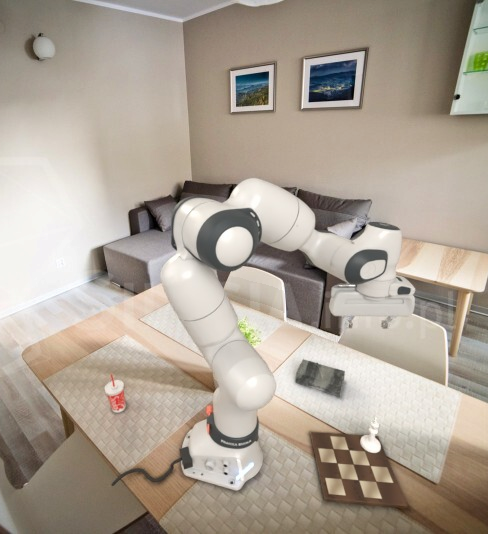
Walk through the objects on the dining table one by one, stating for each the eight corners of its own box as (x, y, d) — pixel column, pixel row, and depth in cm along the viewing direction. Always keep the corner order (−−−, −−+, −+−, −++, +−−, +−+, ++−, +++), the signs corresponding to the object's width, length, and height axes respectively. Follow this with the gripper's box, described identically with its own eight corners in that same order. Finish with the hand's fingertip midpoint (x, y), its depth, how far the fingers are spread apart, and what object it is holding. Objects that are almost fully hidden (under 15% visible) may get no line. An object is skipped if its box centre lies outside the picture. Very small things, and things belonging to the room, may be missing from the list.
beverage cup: (106, 412, 107) (97, 379, 101) (116, 398, 112) (108, 366, 106) (122, 416, 105) (114, 383, 99) (131, 401, 110) (124, 369, 104)
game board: (324, 501, 78) (325, 498, 77) (310, 434, 94) (310, 431, 93) (406, 509, 75) (407, 505, 74) (377, 438, 91) (378, 435, 91)
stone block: (302, 366, 119) (303, 355, 117) (345, 380, 111) (347, 368, 109) (295, 382, 112) (296, 371, 110) (340, 398, 105) (341, 386, 102)
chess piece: (380, 439, 89) (386, 413, 85) (381, 455, 85) (387, 429, 81) (360, 434, 91) (365, 408, 87) (360, 449, 87) (365, 423, 83)
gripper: (334, 289, 83) (329, 333, 89) (422, 289, 80) (411, 335, 86) (328, 278, 89) (324, 320, 95) (410, 277, 86) (400, 321, 91)
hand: (366, 327), depth 90 cm, fingers open, 8 cm apart
